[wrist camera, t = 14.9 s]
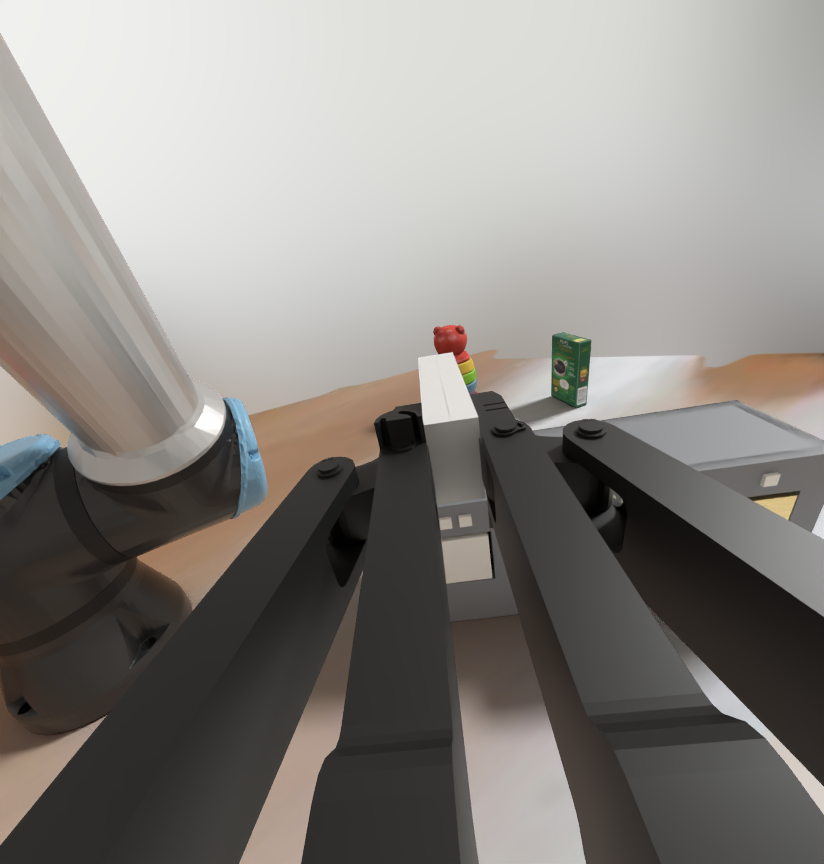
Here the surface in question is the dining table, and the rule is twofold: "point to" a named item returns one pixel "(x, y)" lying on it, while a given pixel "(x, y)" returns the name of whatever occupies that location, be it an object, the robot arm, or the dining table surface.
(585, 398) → the coffee box
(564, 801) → the dining table surface
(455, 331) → the stacking bear
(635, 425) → the button console
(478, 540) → the white button
